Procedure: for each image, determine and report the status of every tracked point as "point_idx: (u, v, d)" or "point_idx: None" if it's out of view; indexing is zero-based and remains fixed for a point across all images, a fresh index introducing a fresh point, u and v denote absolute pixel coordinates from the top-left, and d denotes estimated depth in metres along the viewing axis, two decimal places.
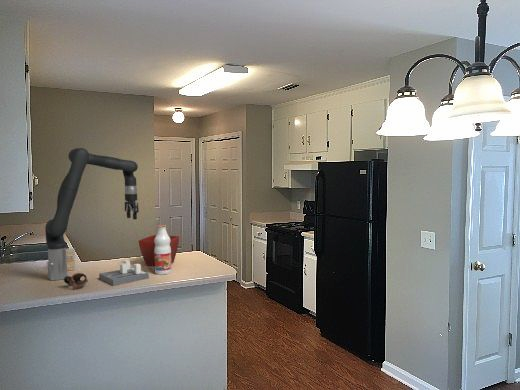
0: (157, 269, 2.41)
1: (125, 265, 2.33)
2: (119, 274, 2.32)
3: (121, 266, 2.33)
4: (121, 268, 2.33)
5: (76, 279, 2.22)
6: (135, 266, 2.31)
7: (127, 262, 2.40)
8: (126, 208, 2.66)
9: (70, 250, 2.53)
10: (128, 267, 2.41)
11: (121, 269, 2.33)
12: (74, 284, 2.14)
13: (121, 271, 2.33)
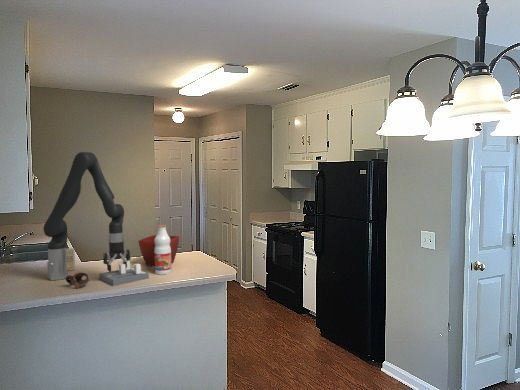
0: (157, 269, 2.41)
1: (124, 265, 2.32)
2: (119, 274, 2.32)
3: (120, 266, 2.32)
4: (120, 268, 2.32)
5: (78, 278, 2.24)
6: (135, 266, 2.31)
7: (127, 262, 2.40)
8: (112, 260, 2.28)
9: (70, 250, 2.53)
10: (128, 267, 2.41)
11: (120, 269, 2.32)
12: (76, 283, 2.16)
13: (119, 272, 2.33)
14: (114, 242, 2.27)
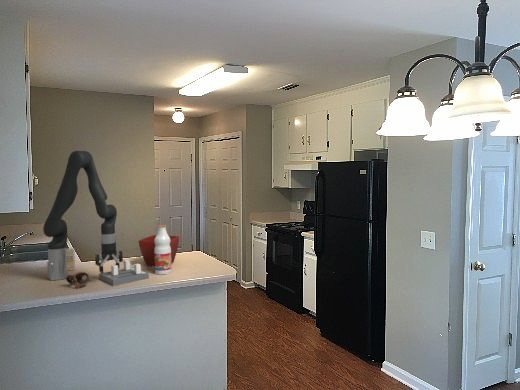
0: (157, 269, 2.41)
1: (116, 267, 2.29)
2: (119, 274, 2.32)
3: (112, 268, 2.29)
4: (112, 270, 2.29)
5: (78, 278, 2.24)
6: (135, 266, 2.31)
7: (127, 262, 2.40)
8: (104, 261, 2.25)
9: (70, 250, 2.53)
10: (128, 267, 2.41)
11: (112, 271, 2.30)
12: (76, 283, 2.16)
13: (112, 273, 2.30)
14: (106, 243, 2.24)
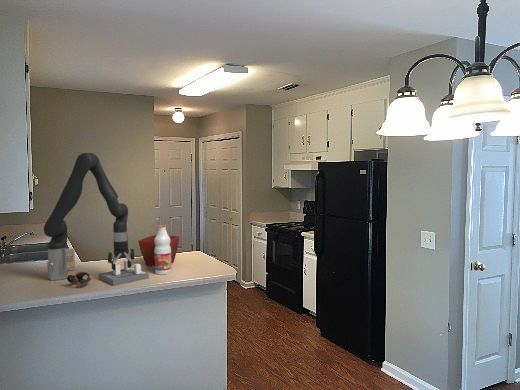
0: (157, 269, 2.41)
1: (118, 266, 2.30)
2: (119, 274, 2.32)
3: None
4: None
5: (79, 278, 2.25)
6: (135, 266, 2.31)
7: None
8: (116, 259, 2.29)
9: (70, 250, 2.53)
10: None
11: None
12: (77, 283, 2.17)
13: (114, 273, 2.31)
14: (118, 241, 2.28)
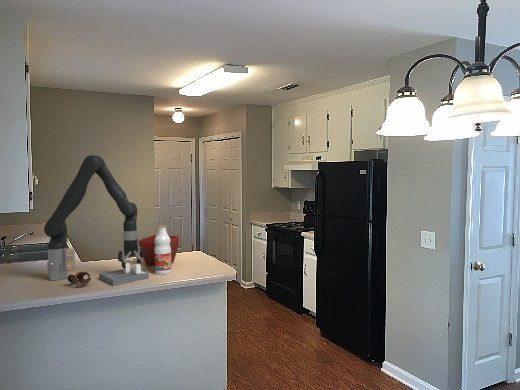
0: (157, 269, 2.41)
1: (128, 264, 2.34)
2: (119, 274, 2.32)
3: None
4: None
5: (79, 278, 2.25)
6: (135, 266, 2.31)
7: (127, 262, 2.40)
8: (126, 257, 2.33)
9: (70, 250, 2.53)
10: None
11: None
12: (78, 282, 2.17)
13: (124, 271, 2.35)
14: (128, 240, 2.32)
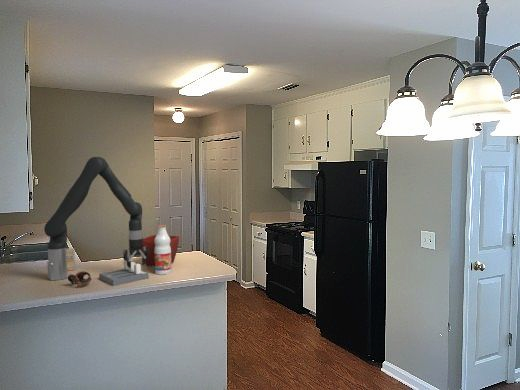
0: (157, 269, 2.41)
1: (134, 263, 2.36)
2: (119, 274, 2.32)
3: None
4: None
5: (79, 277, 2.25)
6: (135, 266, 2.31)
7: None
8: (131, 256, 2.35)
9: (70, 250, 2.53)
10: (128, 267, 2.41)
11: None
12: (78, 282, 2.18)
13: (129, 270, 2.37)
14: (134, 239, 2.34)
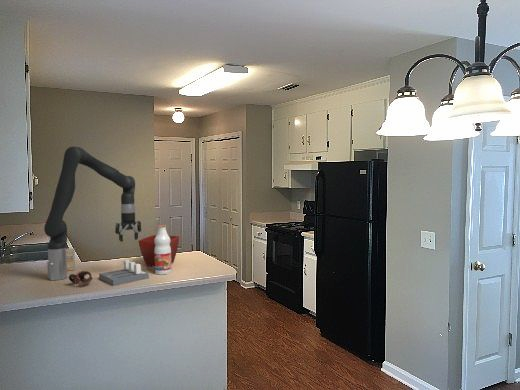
0: (157, 269, 2.41)
1: (134, 263, 2.36)
2: (119, 274, 2.32)
3: (130, 264, 2.36)
4: (130, 266, 2.36)
5: (80, 277, 2.26)
6: (135, 266, 2.31)
7: (127, 262, 2.40)
8: (123, 230, 2.33)
9: (70, 250, 2.53)
10: (128, 267, 2.41)
11: (130, 267, 2.36)
12: (80, 282, 2.19)
13: (129, 270, 2.37)
14: (126, 212, 2.32)
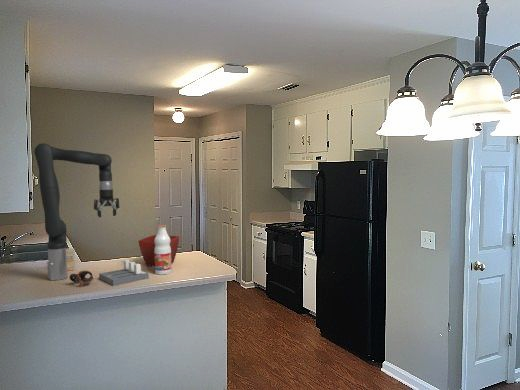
0: (157, 269, 2.41)
1: (134, 263, 2.36)
2: (119, 274, 2.32)
3: (130, 264, 2.36)
4: (130, 266, 2.36)
5: (81, 277, 2.27)
6: (135, 266, 2.31)
7: (127, 262, 2.40)
8: (102, 206, 2.42)
9: (70, 250, 2.53)
10: (128, 267, 2.41)
11: (130, 267, 2.36)
12: (81, 281, 2.19)
13: (129, 270, 2.37)
14: (104, 189, 2.41)
